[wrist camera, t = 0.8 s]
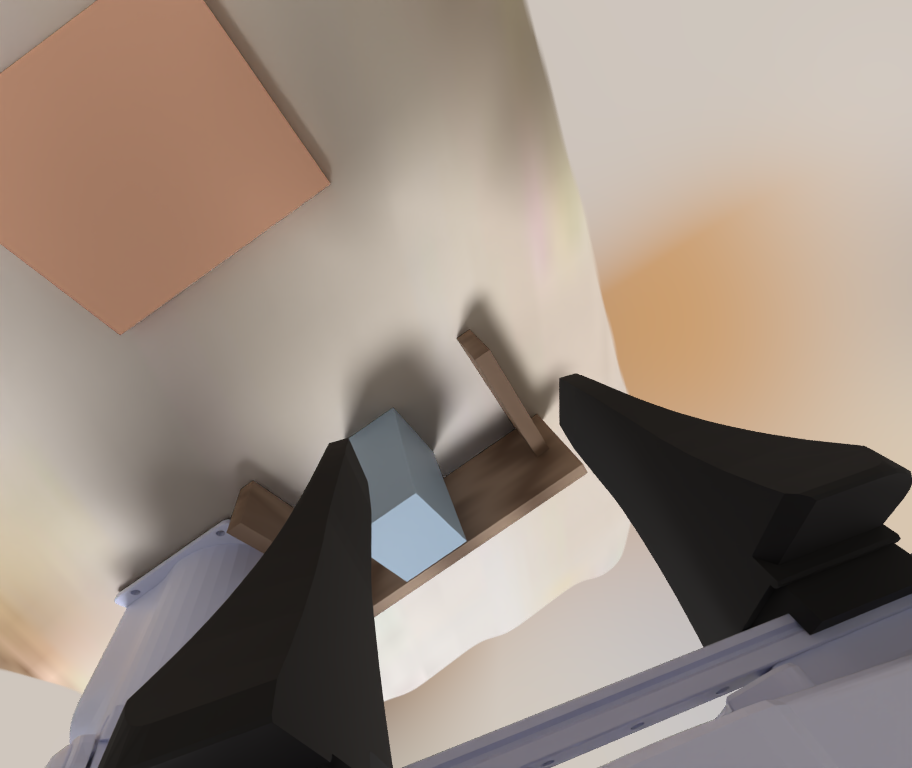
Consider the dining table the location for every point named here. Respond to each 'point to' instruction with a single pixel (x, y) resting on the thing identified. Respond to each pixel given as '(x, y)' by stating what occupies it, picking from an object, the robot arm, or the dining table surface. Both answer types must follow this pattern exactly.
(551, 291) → the dining table surface
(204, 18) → the tile
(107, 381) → the dining table surface
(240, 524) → the wooden u-shaped rack
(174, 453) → the dining table surface
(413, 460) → the block
